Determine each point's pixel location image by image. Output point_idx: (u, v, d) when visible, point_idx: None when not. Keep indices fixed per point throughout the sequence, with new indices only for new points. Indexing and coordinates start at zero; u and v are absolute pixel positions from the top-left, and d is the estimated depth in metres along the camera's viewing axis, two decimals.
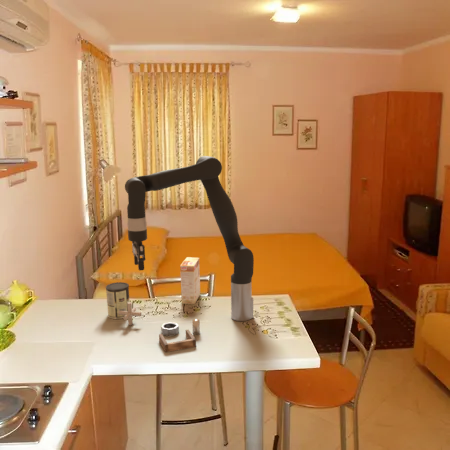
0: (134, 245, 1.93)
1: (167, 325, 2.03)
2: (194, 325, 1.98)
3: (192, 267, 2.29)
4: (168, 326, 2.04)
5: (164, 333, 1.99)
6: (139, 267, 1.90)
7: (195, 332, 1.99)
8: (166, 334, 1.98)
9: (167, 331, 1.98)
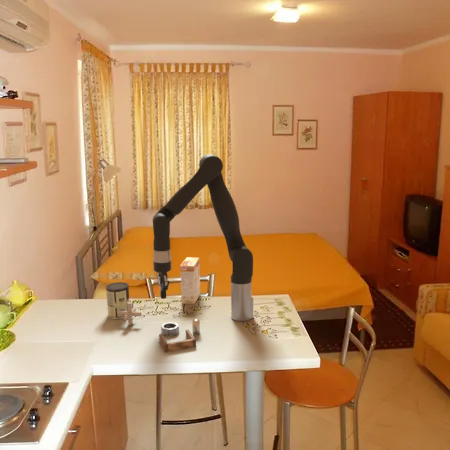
0: (159, 274, 2.05)
1: (167, 325, 2.03)
2: (194, 325, 1.98)
3: (192, 267, 2.29)
4: (168, 326, 2.04)
5: (164, 333, 1.99)
6: (162, 296, 2.06)
7: (195, 332, 1.99)
8: (166, 334, 1.98)
9: (167, 331, 1.98)
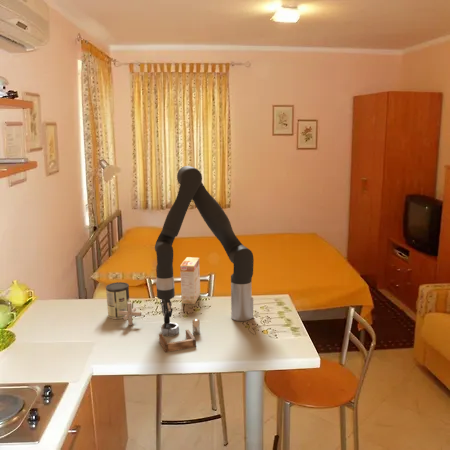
0: (162, 301, 2.04)
1: (167, 325, 2.03)
2: (194, 325, 1.98)
3: (192, 267, 2.29)
4: (168, 326, 2.04)
5: (164, 333, 1.99)
6: (165, 322, 2.05)
7: (195, 332, 1.99)
8: (166, 334, 1.98)
9: (167, 331, 1.98)
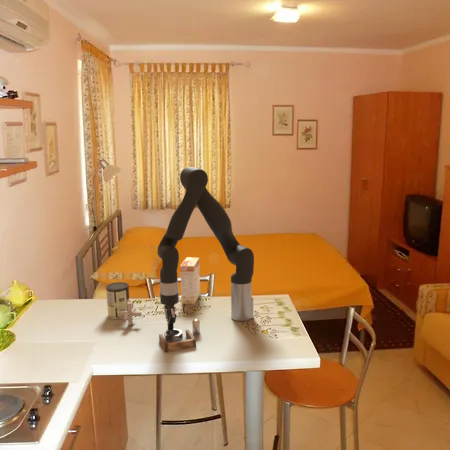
0: (166, 306, 1.98)
1: (171, 332, 1.97)
2: (194, 325, 1.98)
3: (192, 267, 2.29)
4: (172, 333, 1.97)
5: (167, 340, 1.92)
6: (169, 329, 1.98)
7: (195, 332, 1.99)
8: (169, 341, 1.92)
9: (170, 338, 1.91)
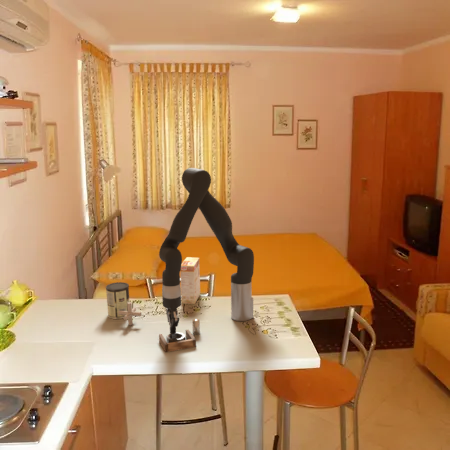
0: (168, 309, 1.94)
1: (173, 335, 1.94)
2: (194, 325, 1.98)
3: (192, 267, 2.29)
4: (174, 336, 1.94)
5: None
6: (171, 332, 1.95)
7: (195, 332, 1.99)
8: None
9: None
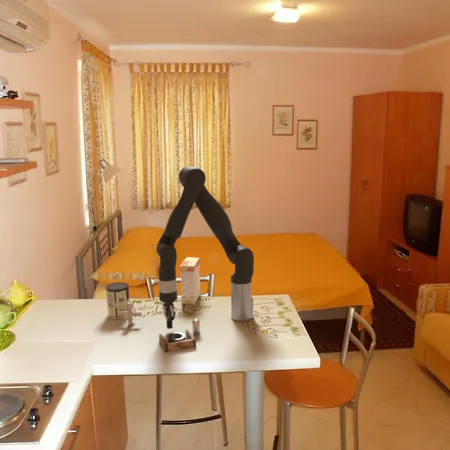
0: (164, 304, 2.00)
1: (173, 335, 1.94)
2: (194, 325, 1.98)
3: (192, 267, 2.29)
4: (174, 336, 1.94)
5: None
6: (168, 326, 2.01)
7: (195, 332, 1.99)
8: None
9: None
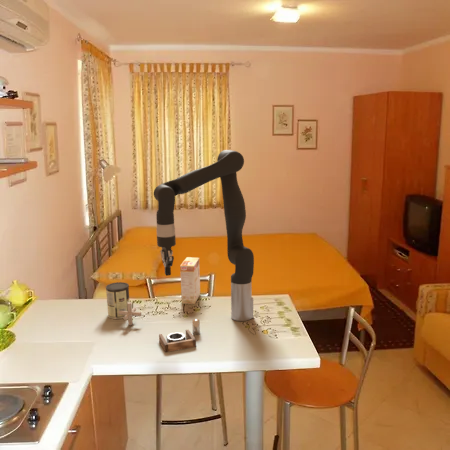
0: (162, 250, 1.96)
1: (173, 335, 1.94)
2: (194, 325, 1.98)
3: (192, 267, 2.29)
4: (174, 336, 1.94)
5: None
6: (166, 272, 1.97)
7: (195, 332, 1.99)
8: None
9: None
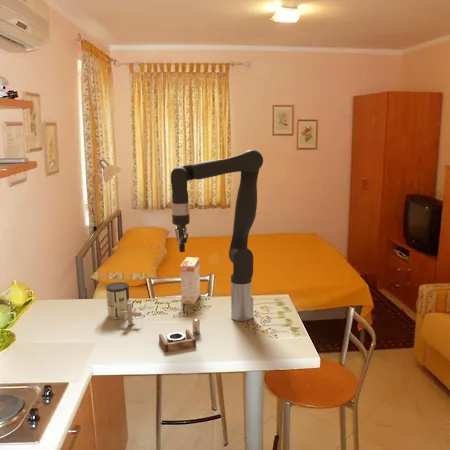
0: (177, 228, 2.09)
1: (173, 335, 1.94)
2: (194, 325, 1.98)
3: (192, 267, 2.29)
4: (174, 336, 1.94)
5: None
6: (180, 249, 2.09)
7: (195, 332, 1.99)
8: None
9: None
